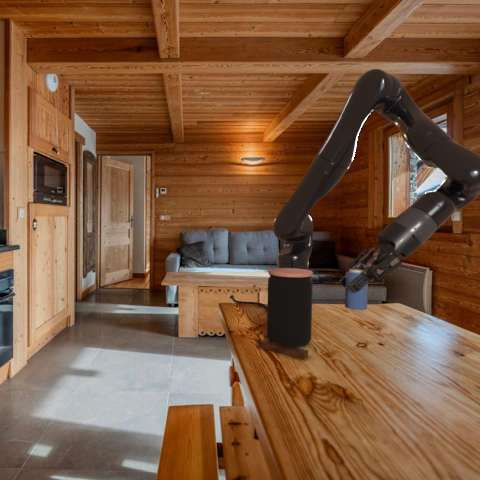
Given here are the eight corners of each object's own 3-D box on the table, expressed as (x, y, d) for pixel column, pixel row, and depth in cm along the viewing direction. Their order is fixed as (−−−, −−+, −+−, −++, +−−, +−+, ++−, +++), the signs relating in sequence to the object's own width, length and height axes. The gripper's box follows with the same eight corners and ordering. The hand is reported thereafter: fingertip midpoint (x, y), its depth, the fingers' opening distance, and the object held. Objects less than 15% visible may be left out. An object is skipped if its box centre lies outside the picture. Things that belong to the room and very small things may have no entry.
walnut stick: (258, 347, 93) (259, 341, 93) (264, 345, 95) (264, 339, 95) (303, 359, 85) (303, 352, 85) (308, 356, 87) (308, 350, 87)
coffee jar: (312, 338, 101) (314, 269, 100) (309, 350, 91) (311, 274, 90) (270, 332, 105) (271, 266, 104) (263, 344, 95) (264, 271, 94)
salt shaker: (341, 307, 86) (343, 269, 85) (348, 304, 89) (349, 267, 88) (363, 311, 83) (364, 271, 82) (369, 307, 86) (370, 269, 85)
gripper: (378, 220, 91) (323, 270, 93) (413, 221, 77) (348, 280, 78) (400, 243, 91) (346, 293, 93) (440, 248, 77) (374, 306, 78)
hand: (347, 287), depth 86 cm, fingers closed on salt shaker, 4 cm apart
